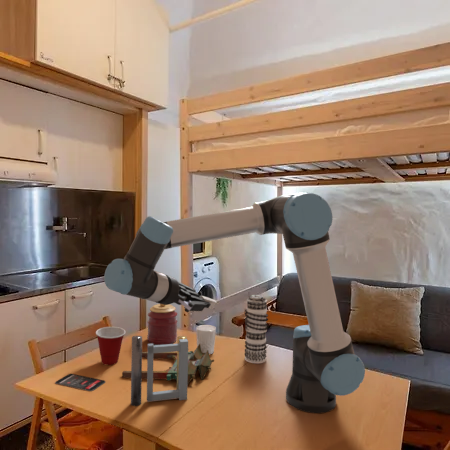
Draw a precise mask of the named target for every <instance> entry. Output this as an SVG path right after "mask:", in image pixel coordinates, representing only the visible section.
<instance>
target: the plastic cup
mask: <svg viewBox="0 0 450 450" xmlns="http://www.w3.org/2000/svg"><path fill="white" fill-rule="evenodd" d="M95 335H96V338H97V342H98V348H99V354H100V359H101V360H100V361H101V363H102V365H105V366H113V365H116V364H118V361H119V357H120V353H121V349H122V343H123V339H124V336H125V335H126V330H125V329H124V328H122V327H118V326H104V327H100V328H99V329H97V330H96V331H95Z"/></svg>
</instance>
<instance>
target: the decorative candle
mask: <svg viewBox="0 0 450 450" xmlns="http://www.w3.org/2000/svg"><path fill="white" fill-rule="evenodd" d="M246 301H247V305H246V308H245V309H244V316H245V318H244V321H245V322H244V324H245V327H244V328H245V331H246V335H245V340H244V344H245V345H244V348H245V349H244V360H245V361H246V362H248V363H249V364H263V363H265V362H266V361H267V358H266V357H267V353H268V352H267V344H268V343H267V337H266V335H267V333H266V332H267V331H268V327H267V326H268V323H267V321H269V318H268V317H269V314H267V312H268V308H267V302H268V299H267V298H266V297H265V296H264V295H261V294H252V295H249V297H248V298H246Z"/></svg>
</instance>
